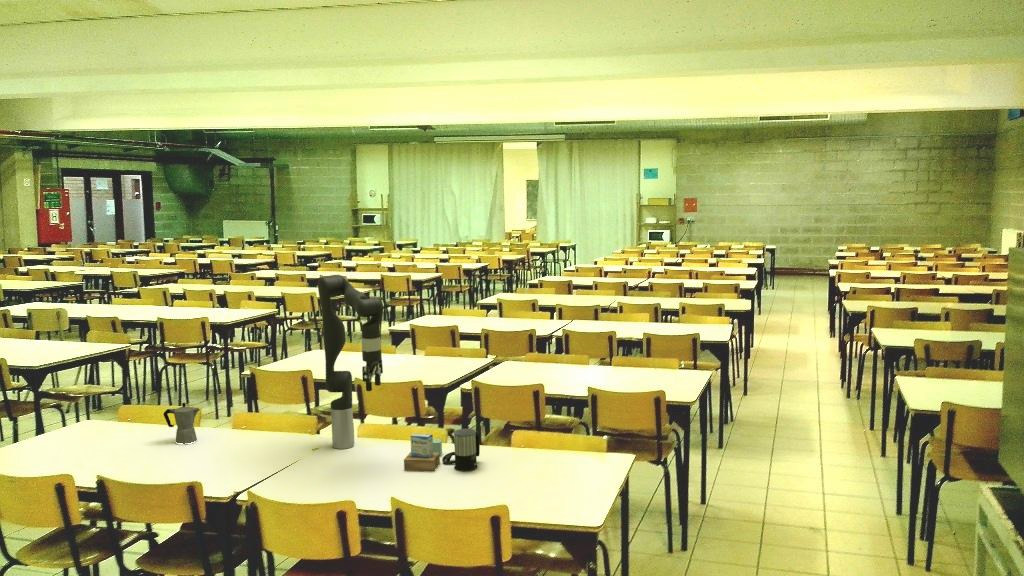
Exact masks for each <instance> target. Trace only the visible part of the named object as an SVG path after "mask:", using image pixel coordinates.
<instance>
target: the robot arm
mask: <svg viewBox="0 0 1024 576" xmlns="http://www.w3.org/2000/svg"><path fill="white" fill-rule="evenodd" d="M317 288H318V290H317V291H318V297H319V298H318V299H319V303H320V309H321V318H322V321H321V322H322V336H323V337H322V339H323V346H324V347H323V348H324V357H325V359H324V360H325V387H326V390H327V391H328V392H329V393H343V395H342V396H340V397H338V398H335V399H333V400H331V402H330V415H331V416H330V421H331V422H330V423H331V440H332V441H331V442H332V443H331V444H332V448H334V449H336V448H337V449H336V450H345V449H350V448H353V447H354V446H355V427H354V426H355V425H354V412H353V411H354V410H353V376H352V373H351V371H350V370H335V365H336V362H337V359H338V357H339V355H340V353H341V352H342V350H343V348H344V347H345V344H346V341H347V340H346V328H345V324H344V323H343V321H342V319H340V317H339V315H337V313H336V312H335V310H334V309H333V307H332V301H331V298H337V297H341V296H343V299H344V302H345V303H346V304H347V305H348V306H349V307H350V308H353V310H354V311H355V312H356V314H357V315H358V317H360V318H370V319H369V320H368V321H366V322H364V323H363V324H362V325H361V354H362V355H361V357H362V361H363V362H365V366H362V368H361V369H362V370H361V373H362V375H361V376H362V382H365V391H366V392H371V391H373V382H372V381H373V380H372V379H373V378H374V385H375V386H381V385H382V384H381V383H382V382H381V377H382V374H383V373H384V368H383V358H382V341H381V330H380V329H381V328H380V326H381V322H382V316H383V313H384V304H383V301H382V300H381V299H380V298H378V297H374V298H369V297H368V296H367V295H366V294H364V293H363V292H361V291H359V290H357V289H356V288H355V287H354V286H353V285H352V284H351V283H350V282H349V281H348V280H347V278H345V277H344V276H343V275H340V274H332V275H326V276H321V277H319V279H318V280H317Z"/></svg>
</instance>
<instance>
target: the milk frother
mask: <svg viewBox="0 0 1024 576" xmlns="http://www.w3.org/2000/svg"><path fill="white" fill-rule="evenodd" d="M452 434H453V437H454V439H453V440H454V442H453V444H454V445H453V446H454V451H451V452H449V453H446V454H445V455H444V456H442V459H441V460H442V463H444V464H445V465H454V470H456V471H459V472H471V471H475V470H476V469H477V468H478V461H477V457H479V456H480V450H481V449H480V448H481V447H480V444H481V443H480V442H481V441H480V440H481V439H480V437H481V436H480V432H478V431H477V430H476V429H473V428H460V429H455V430H454V431H453V433H452ZM453 456H454V460H451V459H452V457H453Z"/></svg>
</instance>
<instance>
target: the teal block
mask: <svg viewBox="0 0 1024 576" xmlns="http://www.w3.org/2000/svg"><path fill="white" fill-rule="evenodd" d="M433 452H436V453H440V458H441V457H442V454H443V441H442V439H441V438H438V439H437V438H436V439H435V438H433Z"/></svg>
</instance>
